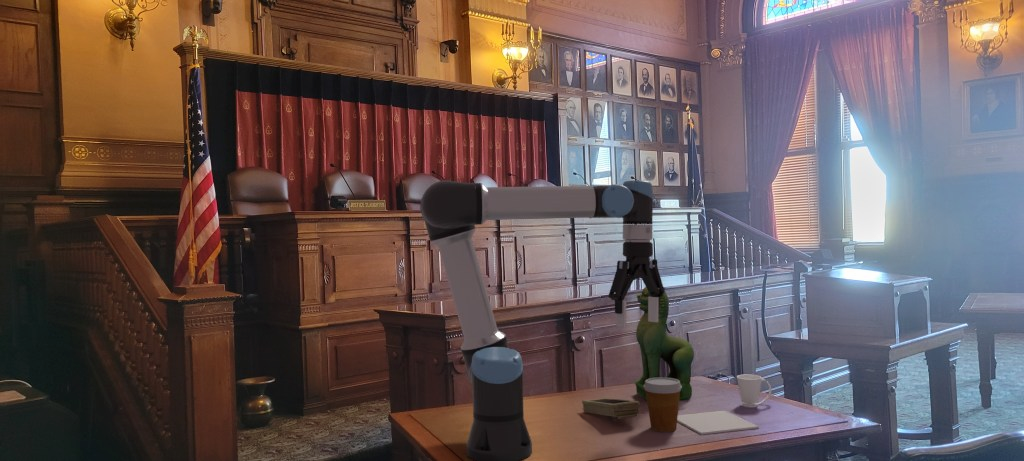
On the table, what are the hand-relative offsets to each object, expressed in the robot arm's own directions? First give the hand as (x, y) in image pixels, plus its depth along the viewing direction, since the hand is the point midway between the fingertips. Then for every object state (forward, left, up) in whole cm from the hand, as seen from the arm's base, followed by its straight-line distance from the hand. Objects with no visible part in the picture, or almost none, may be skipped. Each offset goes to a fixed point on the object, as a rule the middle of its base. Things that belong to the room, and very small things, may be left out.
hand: (637, 324), depth 184 cm
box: (-4, +11, -27) cm, 29 cm away
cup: (+39, +8, -26) cm, 48 cm away
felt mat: (+19, -4, -26) cm, 32 cm away
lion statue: (+20, +25, -26) cm, 42 cm away
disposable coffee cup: (+5, -4, -26) cm, 27 cm away
